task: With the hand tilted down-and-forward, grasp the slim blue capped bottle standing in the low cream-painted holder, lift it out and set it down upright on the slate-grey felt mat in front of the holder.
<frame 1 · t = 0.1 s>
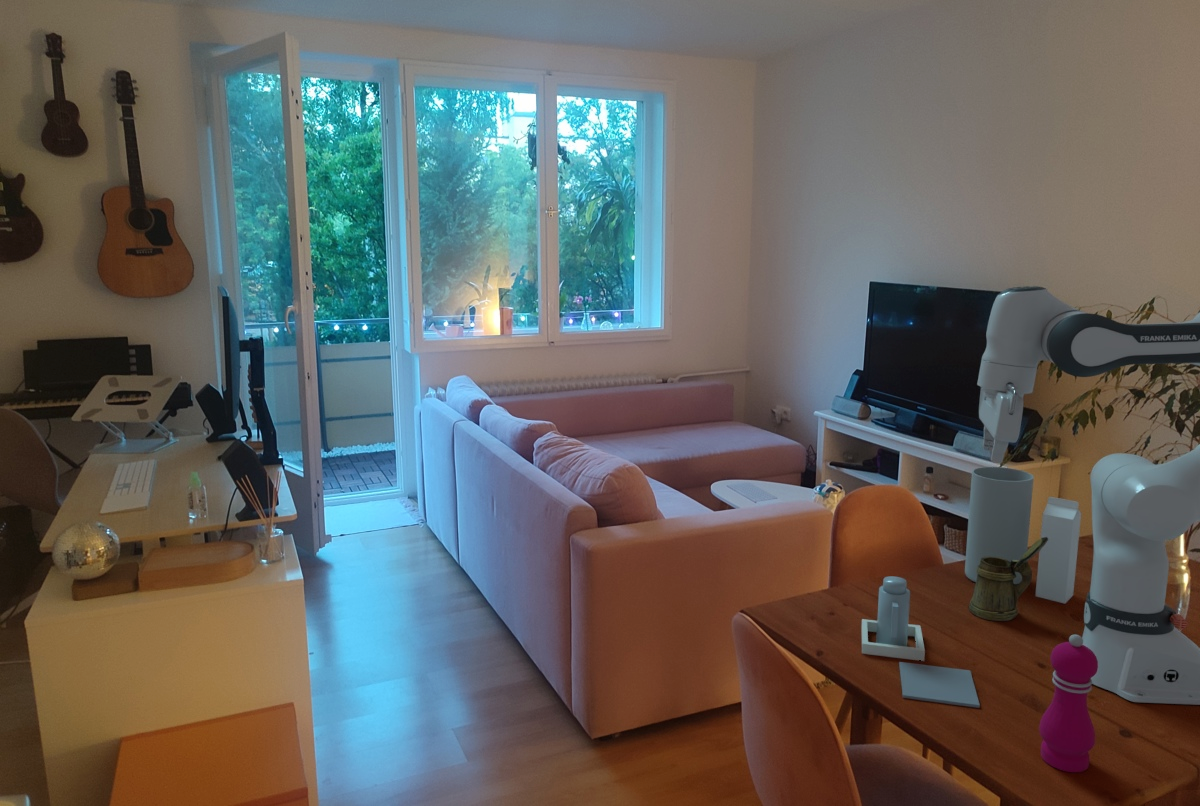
hand: (991, 455, 147), 39 cm above the table, tool pointing down, fingers open, 8 cm apart
pepper mill: (1064, 761, 124), on the table
blue capped bottle: (893, 615, 158), in the holder
cylinder vase: (994, 579, 191), on the table
milk: (1054, 596, 181), on the table
holder: (891, 644, 160), on the table
wooden mug: (1004, 615, 173), on the table
mat: (937, 685, 145), on the table
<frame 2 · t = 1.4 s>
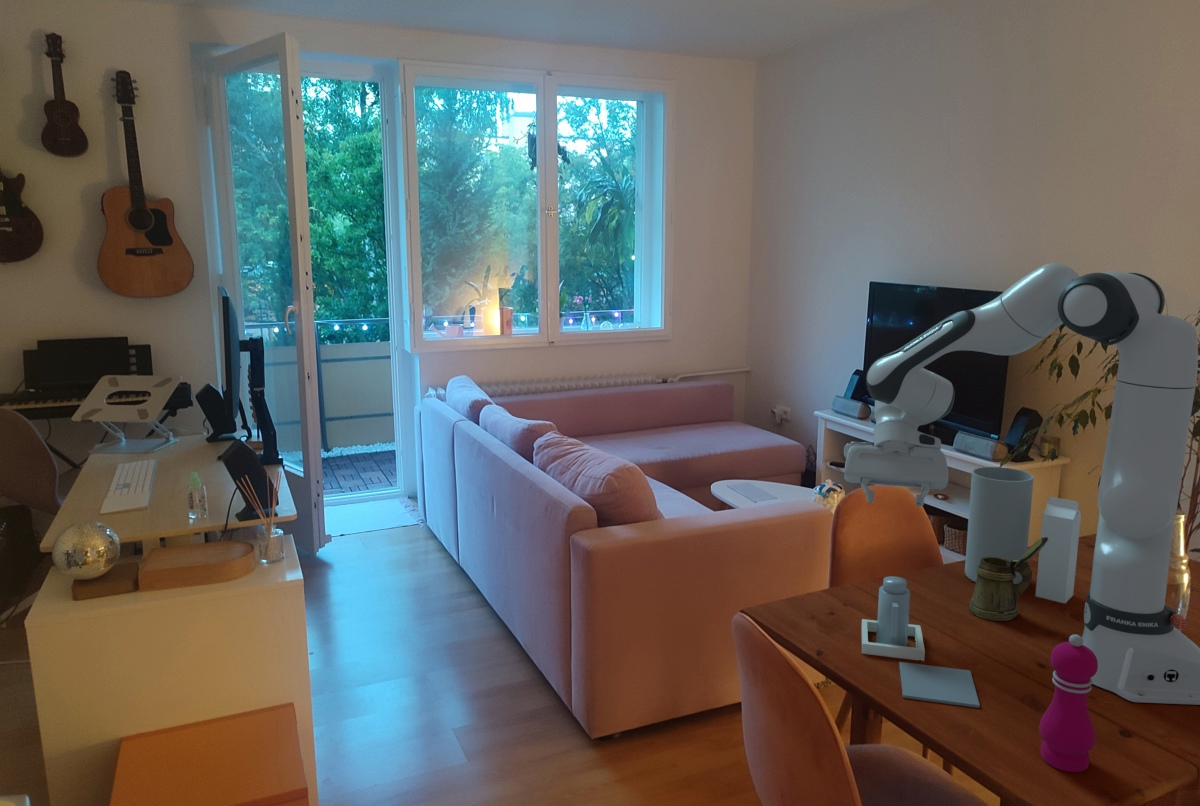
hand: (894, 502, 167), 25 cm above the table, tool tilted 45°, fingers open, 8 cm apart
nothing on the table moved.
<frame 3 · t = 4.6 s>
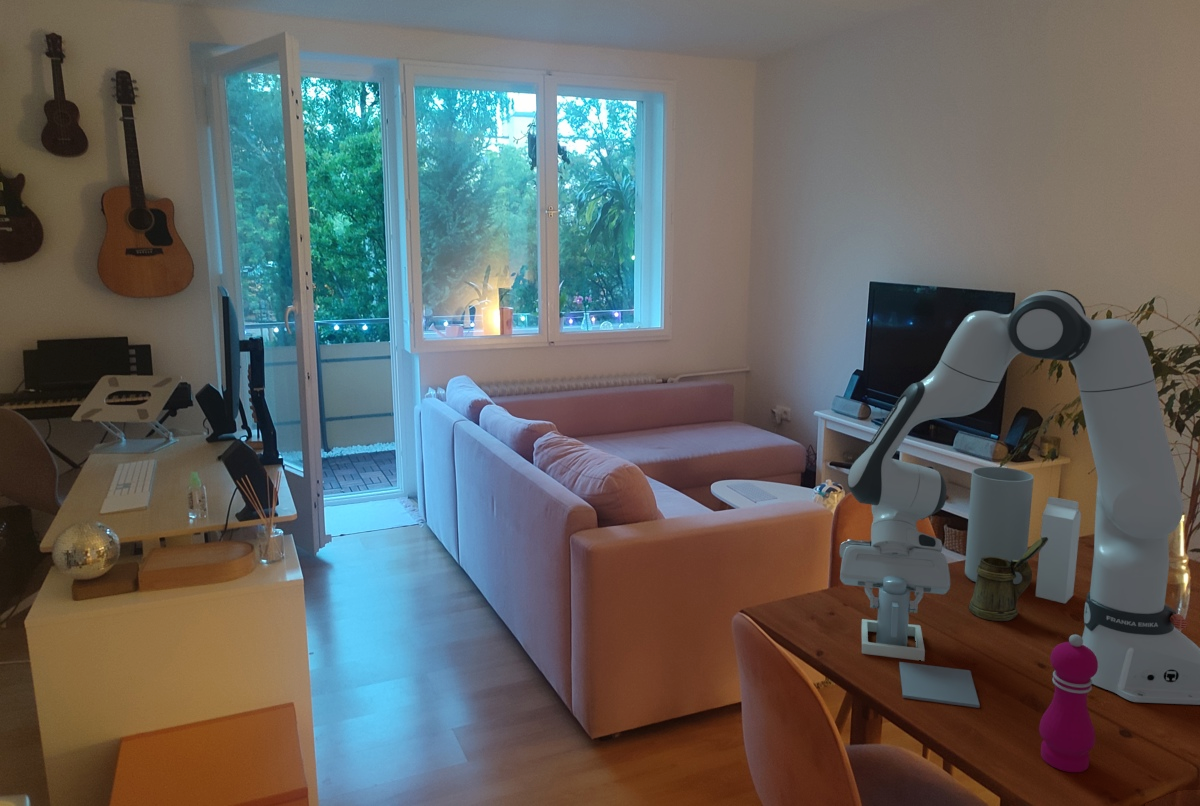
hand: (893, 609, 158), 7 cm above the table, tool tilted 45°, fingers closed on blue capped bottle, 6 cm apart
blue capped bottle: (893, 615, 158), in the holder, touching gripper
everything else where it was.
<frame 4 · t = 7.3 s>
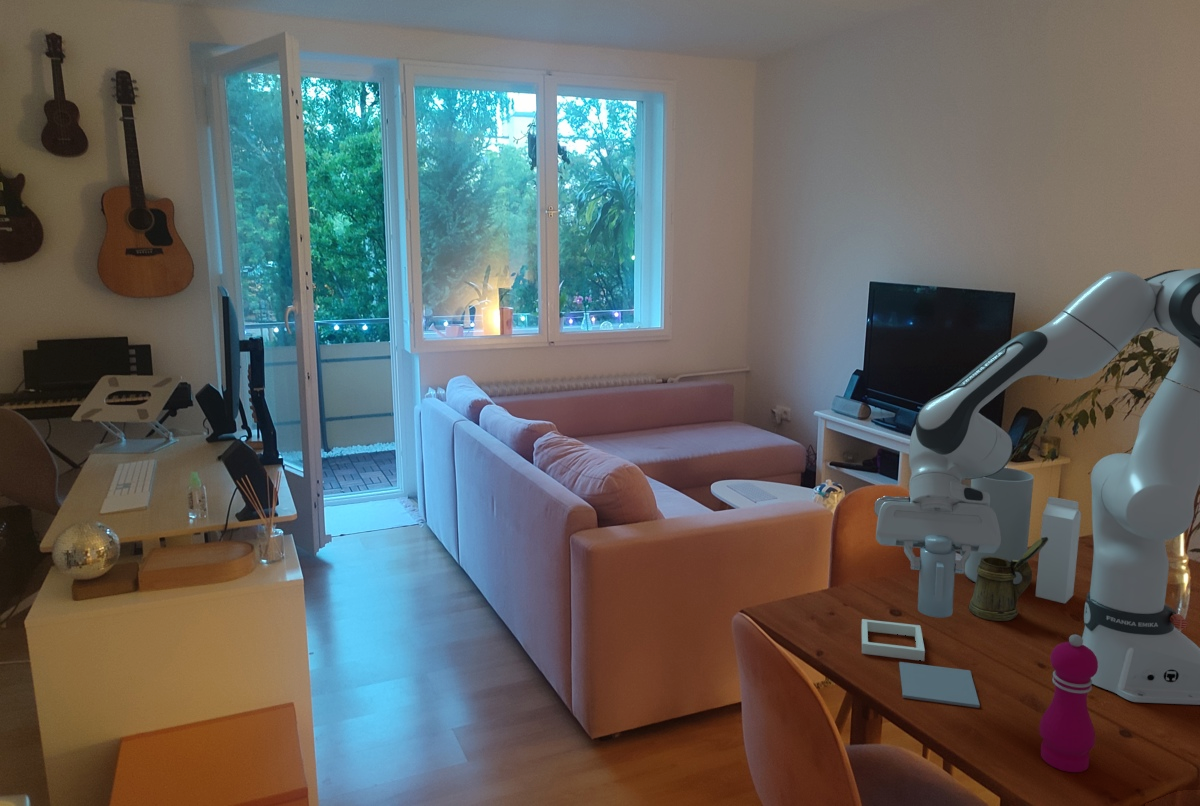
hand: (937, 570, 142), 21 cm above the table, tool tilted 45°, fingers closed on blue capped bottle, 6 cm apart
blue capped bottle: (937, 577, 141), point 20 cm above the table, touching gripper
everything else where it was.
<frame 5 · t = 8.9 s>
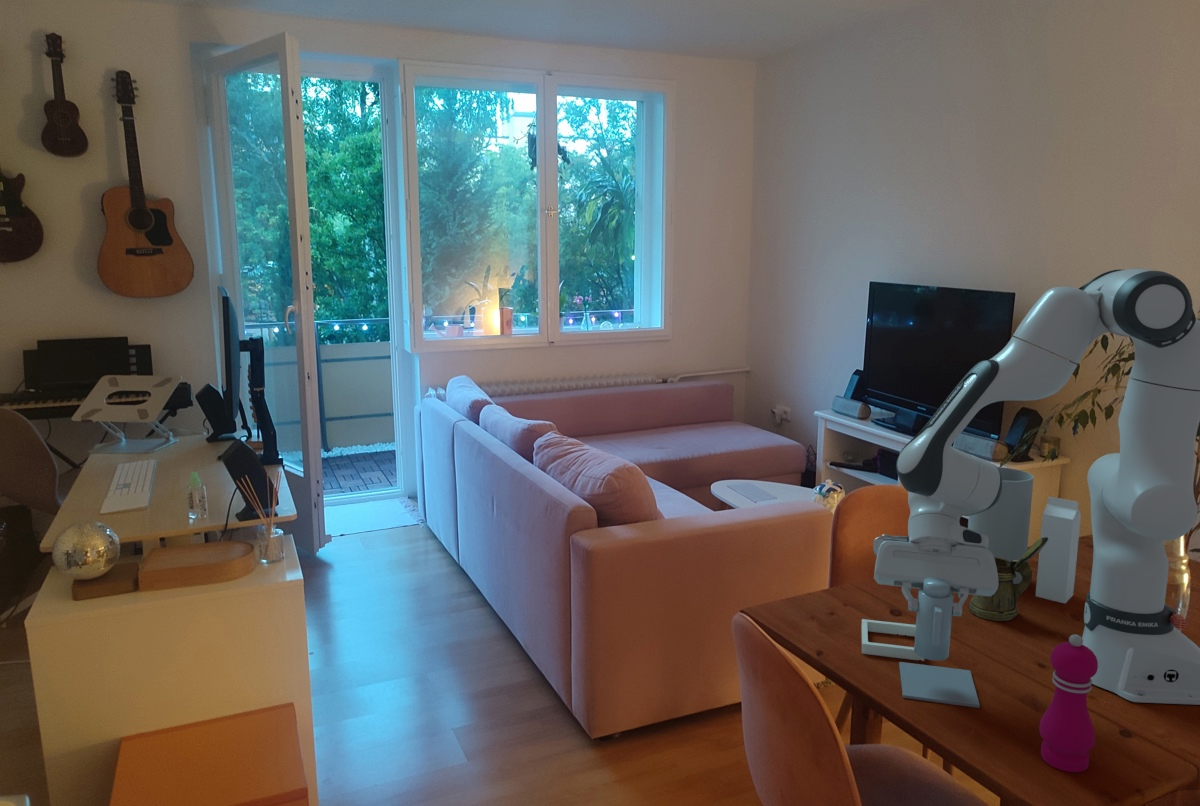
hand: (934, 612, 142), 14 cm above the table, tool tilted 45°, fingers closed on blue capped bottle, 6 cm apart
blue capped bottle: (934, 620, 142), point 12 cm above the table, touching gripper
everything else where it was.
when the fingers open (9 cm above the table, at t = 10.2 s): blue capped bottle stays where it is, resting on mat.
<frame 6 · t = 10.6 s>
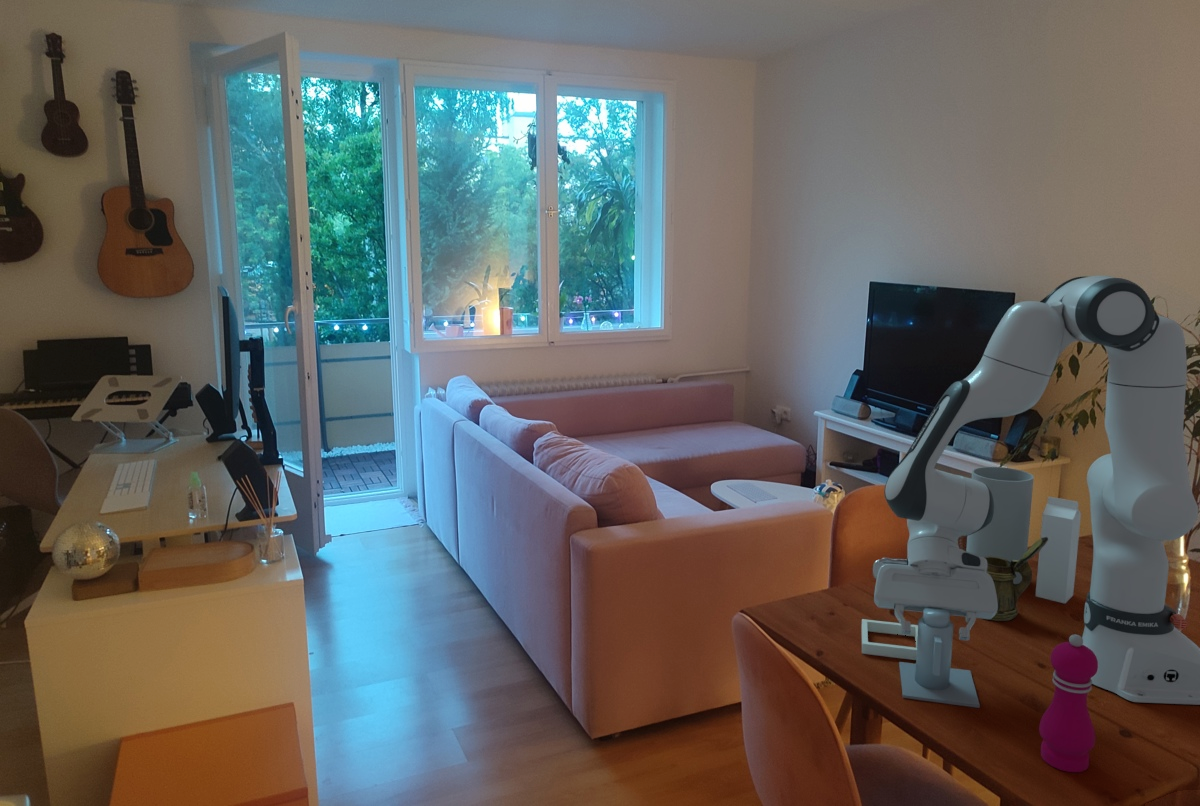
hand: (934, 636, 143), 9 cm above the table, tool tilted 45°, fingers open, 8 cm apart
blue capped bottle: (934, 650, 143), on the mat
everything else where it was.
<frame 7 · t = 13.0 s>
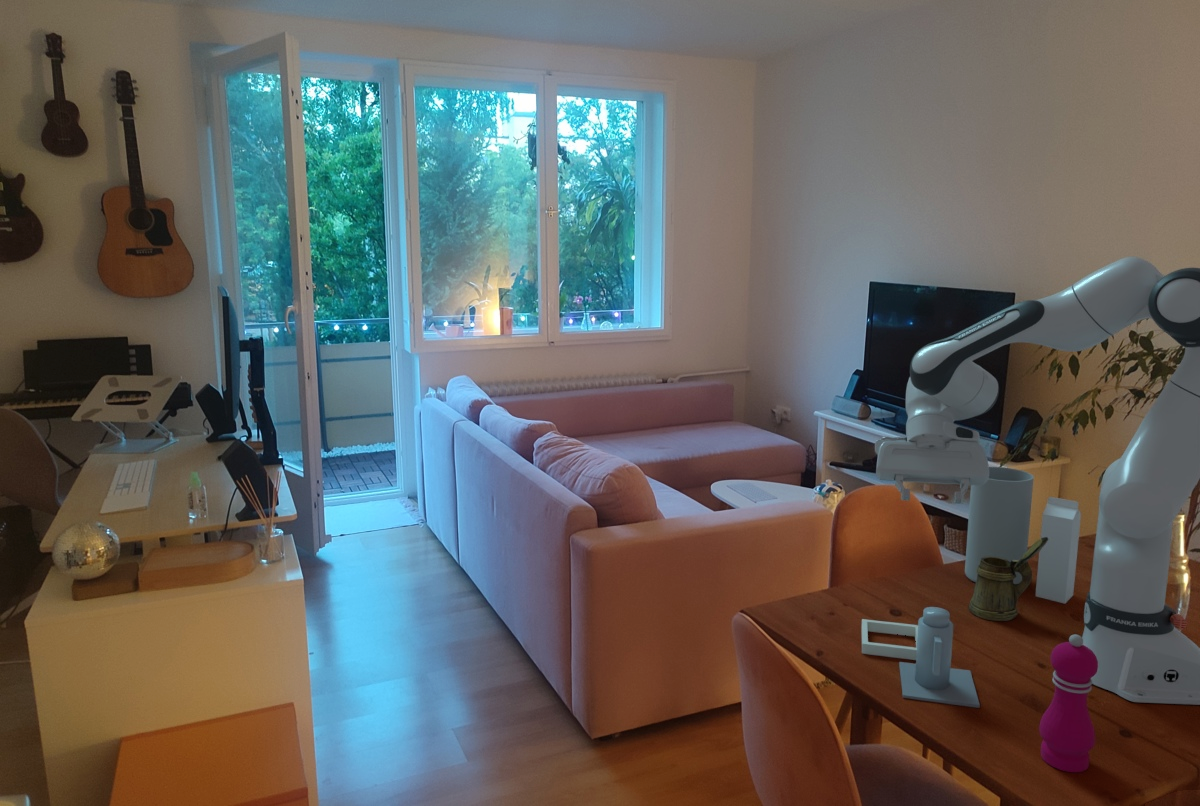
hand: (932, 500, 156), 28 cm above the table, tool tilted 45°, fingers open, 8 cm apart
nothing on the table moved.
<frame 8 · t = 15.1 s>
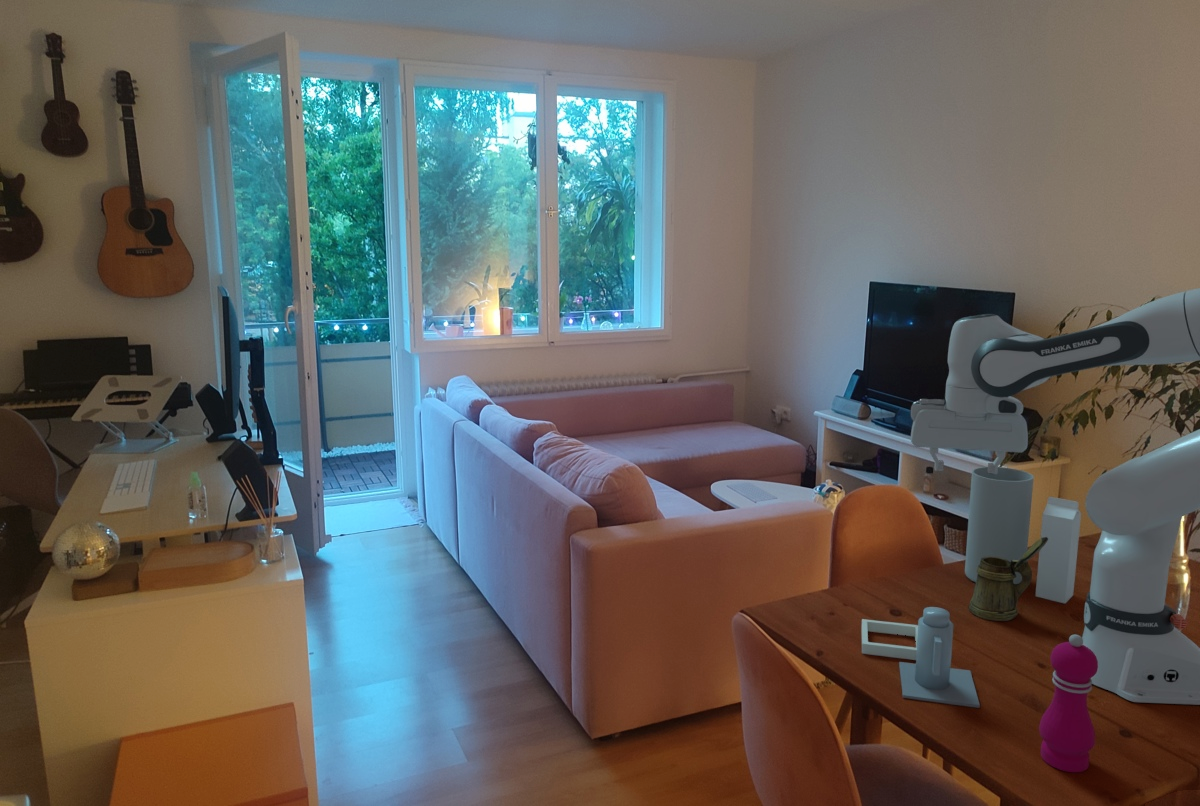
hand: (965, 471, 158), 33 cm above the table, tool pointing down, fingers open, 8 cm apart
nothing on the table moved.
at the end: blue capped bottle inside the target area (0.9 cm from its centre), point 7.0 cm above the table; blue capped bottle tilted 0°; the gripper is holding nothing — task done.
